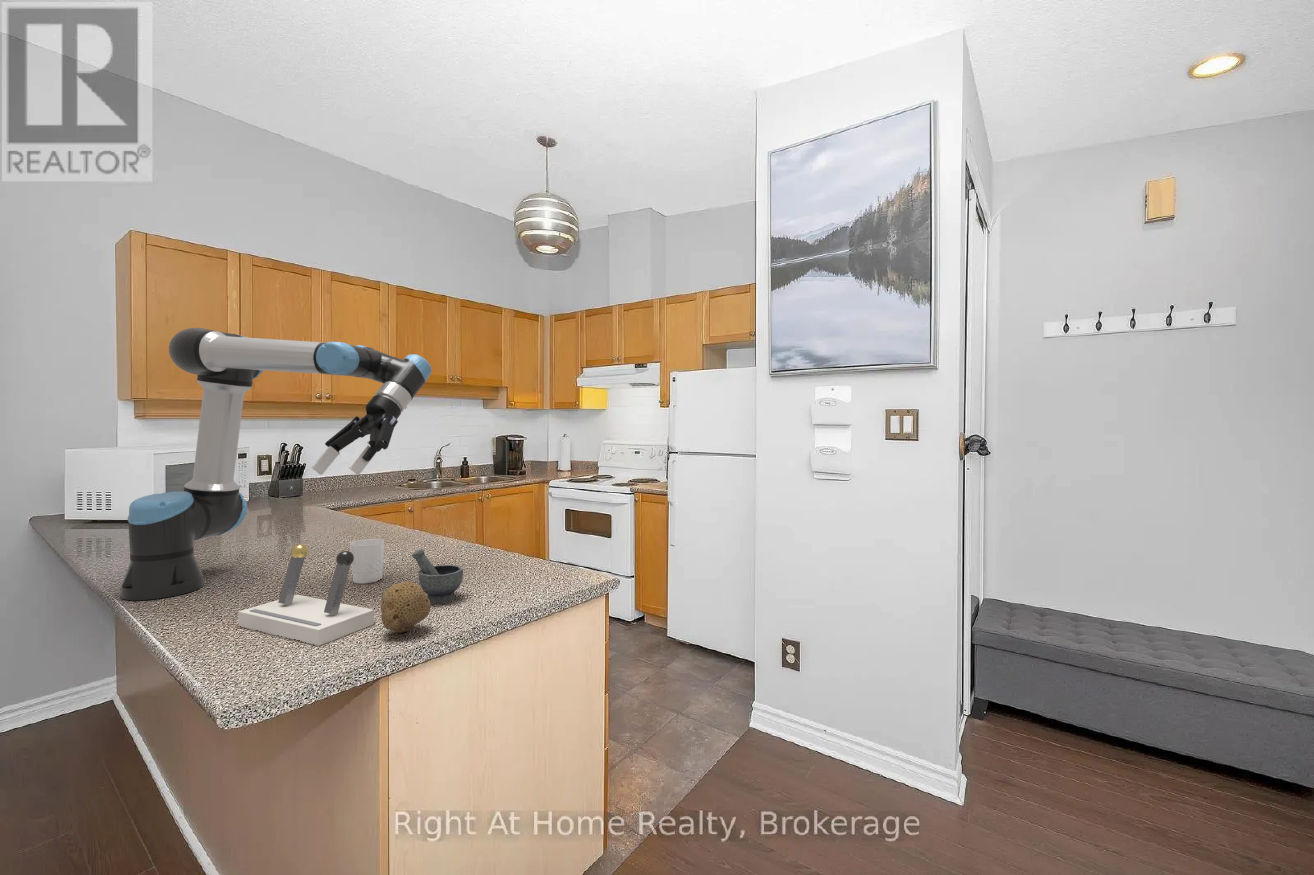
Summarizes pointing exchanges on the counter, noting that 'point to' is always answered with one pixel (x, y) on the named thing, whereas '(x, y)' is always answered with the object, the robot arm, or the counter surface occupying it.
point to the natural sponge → (404, 606)
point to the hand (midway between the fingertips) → (334, 471)
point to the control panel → (306, 620)
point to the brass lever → (293, 573)
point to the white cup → (367, 560)
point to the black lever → (338, 581)
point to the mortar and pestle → (438, 579)
